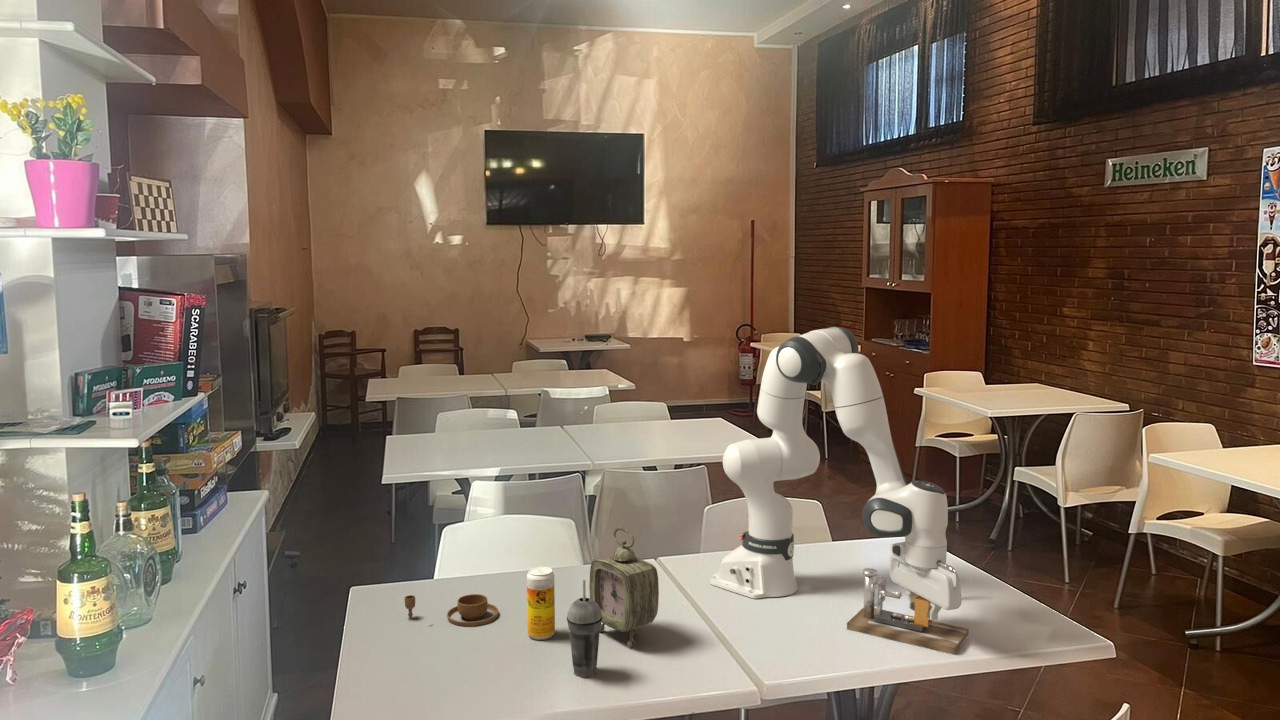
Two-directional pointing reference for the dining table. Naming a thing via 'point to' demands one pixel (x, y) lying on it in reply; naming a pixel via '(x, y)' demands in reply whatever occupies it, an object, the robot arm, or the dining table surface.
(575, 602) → the beverage cup
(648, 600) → the tabletop clock
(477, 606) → the place setting
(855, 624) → the board
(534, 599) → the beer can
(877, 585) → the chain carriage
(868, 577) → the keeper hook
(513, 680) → the dining table surface
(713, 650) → the dining table surface
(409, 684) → the dining table surface
